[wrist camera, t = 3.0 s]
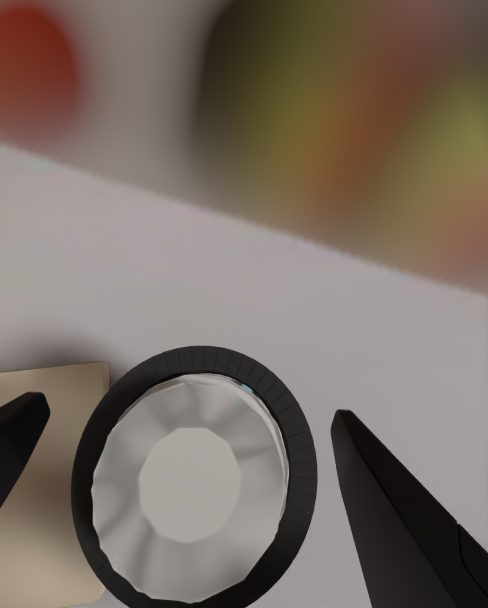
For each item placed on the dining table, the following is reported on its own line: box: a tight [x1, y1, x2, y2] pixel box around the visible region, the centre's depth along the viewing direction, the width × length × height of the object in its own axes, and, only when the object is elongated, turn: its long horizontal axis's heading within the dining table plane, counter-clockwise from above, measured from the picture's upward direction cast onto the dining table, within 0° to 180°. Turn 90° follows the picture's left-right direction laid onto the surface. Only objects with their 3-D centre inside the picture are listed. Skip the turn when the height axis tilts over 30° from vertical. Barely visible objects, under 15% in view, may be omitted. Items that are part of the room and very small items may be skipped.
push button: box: [71, 346, 317, 608], centre depth 10 cm, size 7×5×10 cm
